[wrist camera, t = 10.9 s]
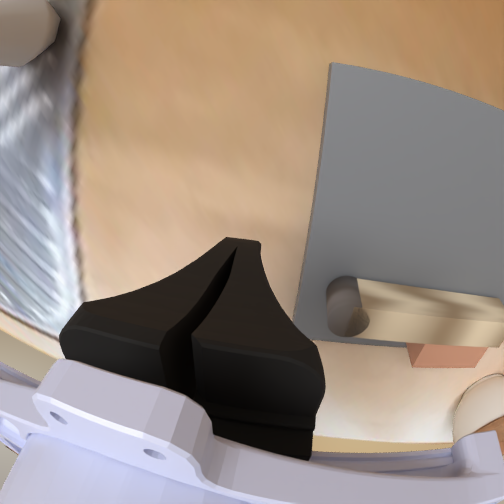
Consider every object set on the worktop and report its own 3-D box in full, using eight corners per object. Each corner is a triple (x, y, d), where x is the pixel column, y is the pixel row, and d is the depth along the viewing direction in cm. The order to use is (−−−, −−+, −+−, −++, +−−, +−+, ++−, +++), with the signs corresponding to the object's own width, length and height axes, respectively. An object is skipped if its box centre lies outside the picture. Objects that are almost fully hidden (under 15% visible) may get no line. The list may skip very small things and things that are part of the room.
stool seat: (477, 334, 24) (493, 374, 20) (292, 319, 26) (288, 366, 22) (553, 136, 14) (594, 156, 10) (329, 64, 16) (338, 58, 12)
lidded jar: (477, 417, 31) (490, 474, 23) (427, 409, 31) (438, 478, 23) (533, 367, 26) (557, 427, 18) (489, 352, 25) (517, 425, 17)
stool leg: (322, 304, 22) (323, 334, 19) (330, 273, 20) (333, 302, 18) (485, 322, 21) (498, 348, 18) (499, 297, 19) (514, 322, 17)
